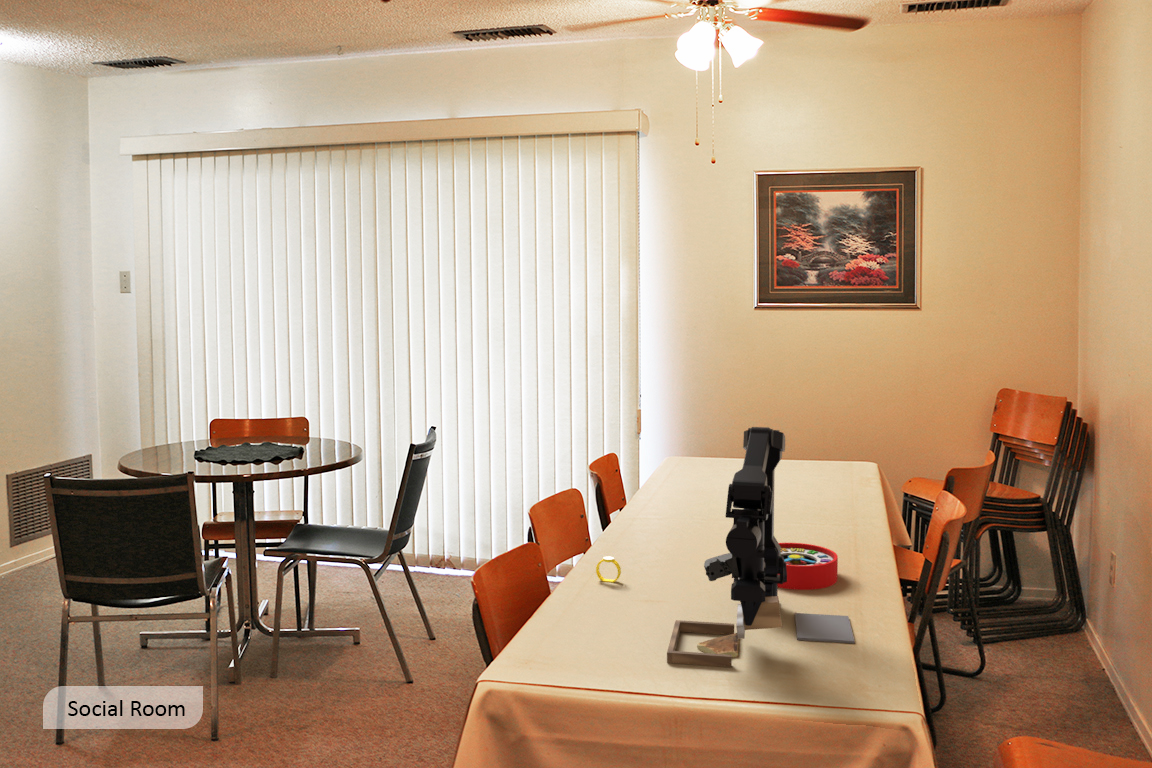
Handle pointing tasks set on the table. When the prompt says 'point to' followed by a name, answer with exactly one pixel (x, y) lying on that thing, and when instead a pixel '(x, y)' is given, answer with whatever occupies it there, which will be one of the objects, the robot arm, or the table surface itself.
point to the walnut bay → (695, 657)
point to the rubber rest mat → (823, 628)
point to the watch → (608, 559)
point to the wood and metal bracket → (761, 617)
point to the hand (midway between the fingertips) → (748, 621)
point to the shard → (721, 645)
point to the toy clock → (808, 566)
